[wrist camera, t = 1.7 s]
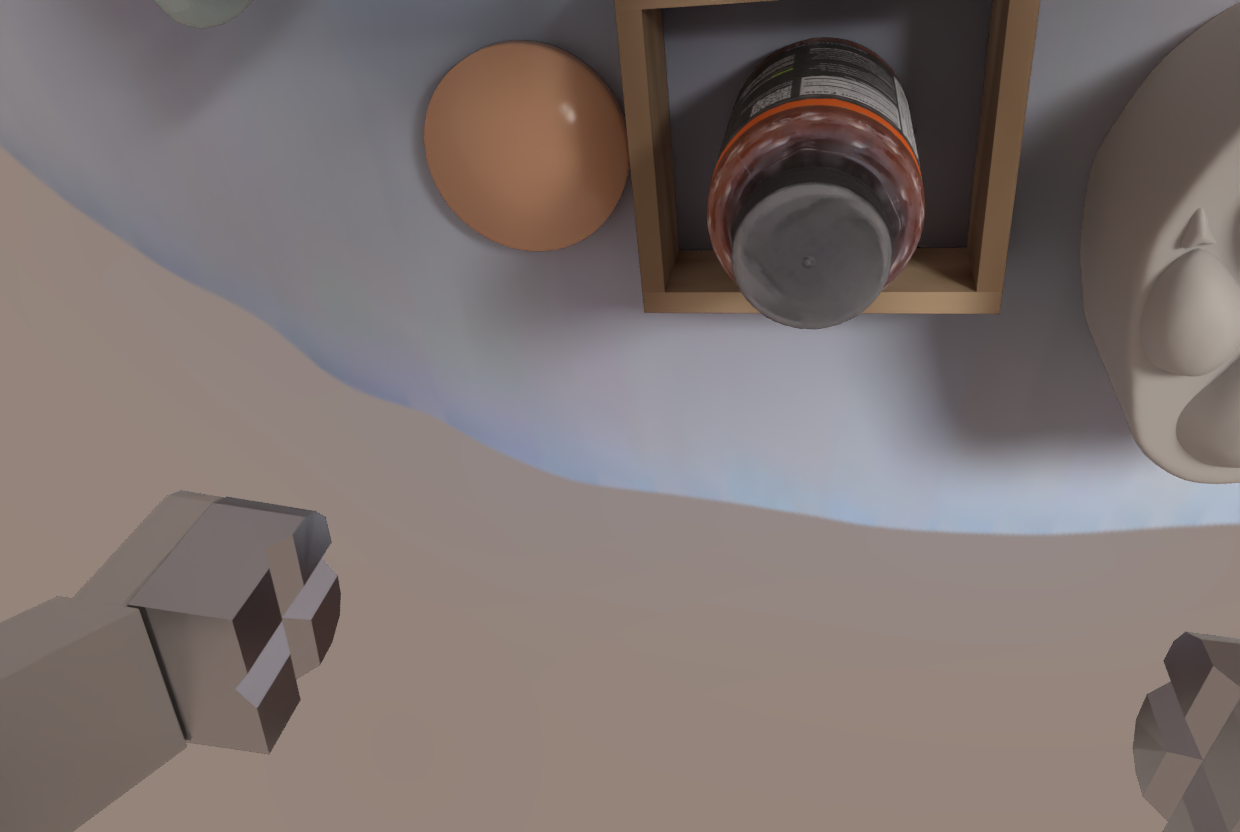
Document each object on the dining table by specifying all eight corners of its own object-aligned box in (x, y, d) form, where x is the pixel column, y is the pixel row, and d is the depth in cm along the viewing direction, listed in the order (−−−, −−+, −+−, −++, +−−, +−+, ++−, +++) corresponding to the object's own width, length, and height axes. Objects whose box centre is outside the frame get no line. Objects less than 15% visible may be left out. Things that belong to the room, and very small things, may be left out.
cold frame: (1051, -269, 26) (1194, -281, 15) (987, 267, 35) (1049, 507, 24) (618, -218, 29) (473, -197, 18) (660, 270, 38) (580, 486, 27)
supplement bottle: (838, 234, 35) (833, 404, 26) (700, 147, 35) (645, 291, 25) (948, 94, 32) (987, 234, 23) (798, -6, 31) (775, 97, 22)
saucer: (620, 33, 33) (615, 39, 32) (639, 241, 37) (635, 250, 36) (411, 46, 34) (403, 52, 34) (453, 243, 39) (446, 252, 38)
